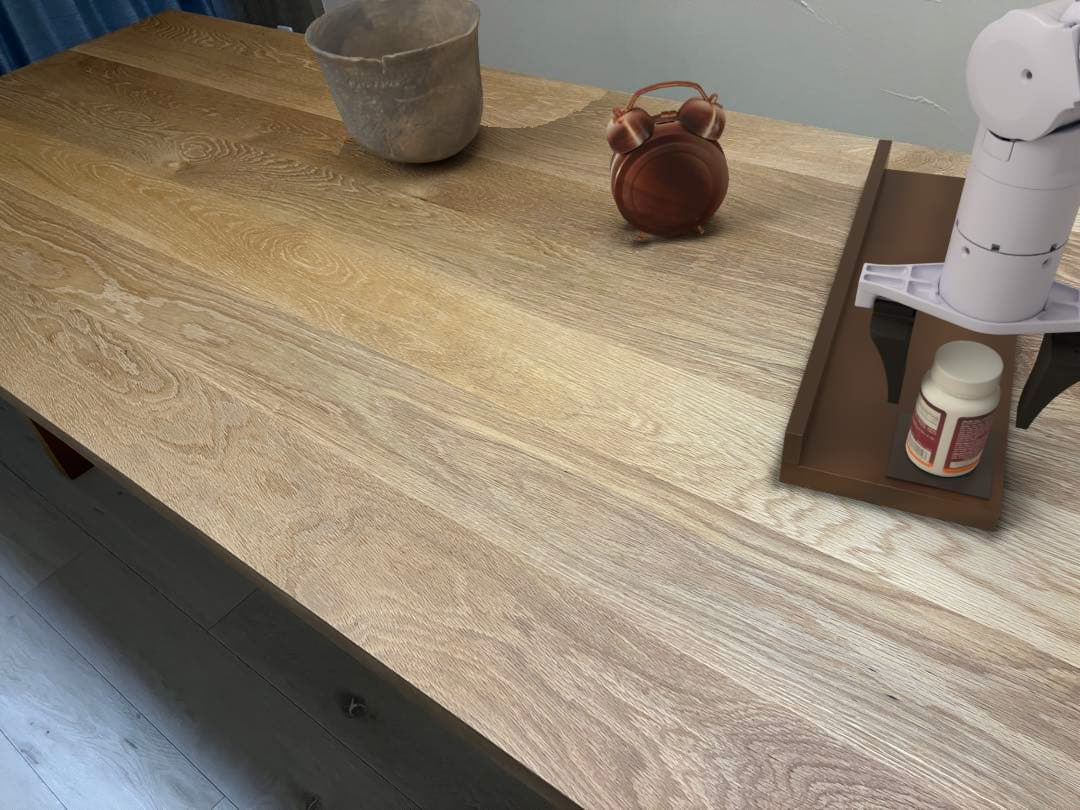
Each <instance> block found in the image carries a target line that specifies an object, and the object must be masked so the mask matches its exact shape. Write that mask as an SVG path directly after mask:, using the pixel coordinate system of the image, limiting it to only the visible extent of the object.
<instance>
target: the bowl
mask: <svg viewBox="0 0 1080 810" xmlns="http://www.w3.org/2000/svg"><path fill="white" fill-rule="evenodd" d="M480 18H481V9H480V7H479V6H478V4H477V3H476V2H475V1H473V0H352V1H348V2H345V3H342V4H340V5H338V6H336V7H334V8H332V9H329V10H328V11H327V12H325V13H323V14H322V15H321V16H319V17H317V18H315V19H314V20H313V21H312V22H311V23H310V25H309V26H308V27H307V29H306V31H305V32H304V41H305V43H306V45H307V46H308V48H309V49H310V51H311V52H312V53H313V56H314V57H315V58H316V61H317V63H318V64H319V67H320V69H321V72H322V74H323V76H324V79H325V81H326V83H327V86H328V88H329V90H330V94H331V96H332V99H333V102H334V104H335V106H336V109H337V111H338V113H339V115H340V118H341V119H342V121H343V124H344V126H345V129H346V130H347V133H348V134H349V136H350V137H351V138H352V140H353V141H354V142H355V143H356V144H358V145H359V146H360V147H361V148H363V149H364V150H365V151H367V152H368V153H371V154H372V155H374V156H377V157H380V158H383V159H385V160H389V161H391V162H394V163H395V162H396V163H409V164H410V163H411V164H425V163H426V164H427V163H432V162H437V161H441V160H445V159H447V158H451V157H453V156H455V155H457V154H458V153H459V152H461V151H462V150H463V149H465V148H466V147H467V146H468V145H469V144H470V142H471V141H473V139H474V138H475V136H477V134H478V132H479V129H480V127H481V122H482V117H483V116H482V115H483V111H484V89H483V80H482V79H483V77H482V74H481V62H480V48H479V25H480V20H481V19H480Z"/></svg>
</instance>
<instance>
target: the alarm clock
mask: <svg viewBox="0 0 1080 810" xmlns="http://www.w3.org/2000/svg"><path fill="white" fill-rule="evenodd" d="M674 87H683V88H684V87H686V88H693V89H694V90H696V91H698V93H700V95H701V96H699V95H698V96H693V97H690V98H688V99H687V100H686V101H685V102H683V104H682V105H681V106H680V107H679V108H678V110H676V109H671V110H663V111H661V113H658V114H654V115H650V114H649V112H647V111H646V110H645V109H643V108H642V107H640V106H636V105H635V102H636V101H637V99H638V98H639V97H640V96H641V95H644V94H646V93H649V92H652V91H657V90H660V89H664V88H665V89H666V88H674ZM718 99H719V95H718V93H716V92H713V93H712V94H710V96H708V95H707V94H706V92H705V91H704V89H703V87H702V86H701V85H700V84H698V83H697V82H693V81H690V80H689V81H688V80H687V81H686V80H669V81H661V82H658V83H654V84H651V85H648V86H645V87H643V88H639V89H638V90H636V91H635V92H634V93H633V94H632V97H631V99H630V100H629V103H628V104H627V106H626V107H624V108H621V109H620V108H618V107H614V108H613V110H612V114H613V116H611V118H609V121H608V123H607V125H606V128H605V137H606V141H607V143H608V145H609V147H610V149H611V150H612V154H611V157H610V162H609V184H610V190H611V194H612V197H613V201H614V203H615V204H616V207H617V209H618V212H619V213H620V215H621V217H622V218H623V219H624V220H625V221H626V222H627V223H628V224H629V226H630V227H631V228H634V229H636V230H637V231H639V235H638V236H636V240H637V241H639V242H640V241H642V240H643V236H644V235H645V234H647V235H650V236H656V237H670V236H677V235H682V234H685V233H688V232H691V231H692V230H695V229H697V230H698V232H699V234H701V235H702V234H704V233H705V229H704V228H703V227H702V225H704V224H705V223H706V222H707V221H708V220H709V219H711V218H712V217H713V216H714V215H715V214H716V213H717V212H718V210H719V209H720V208H721V206H722V205H723V203H724V201H725V199H726V195H727V194H728V189H729V185H730V184H729V183H730V173H729V167H728V163H727V158H726V155H725V152H724V150H723V147H722V145H721V144H720V142H719V140H720V138H721V137H722V135H723V133H724V130H725V127H726V124H727V116H726V113H725V111H724V106H723V105H722V104H721V103H718V102H717V101H718ZM634 105H635V106H634Z"/></svg>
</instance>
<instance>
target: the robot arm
mask: <svg viewBox="0 0 1080 810" xmlns="http://www.w3.org/2000/svg"><path fill="white" fill-rule="evenodd" d="M965 86H966V91H967V96H968V100H969V102H970V106H971V108H972V110H973V112H974V114H975V116H976V117H977V118H978V120H979V123H978V127H977V131H976V134H975V139H974V144H973V147H972V151H971V156H970V159H969V164H968V168H967V172H966V175H965V178H966V179H965V183H964V187H963V191H962V195H961V199H960V203H959V207H958V211H957V215H956V219H955V223H954V227H953V231H952V235H951V239H950V243H949V247H948V251H947V255H946V259H945V262H944V263H927V264H906V265H879V264H870V263H864V266H863V269H862V273H861V276H860V280H859V284H858V290H857V296H856V301H855V306H859V307H865V308H872V307H874V308H873V313H872V317H871V321H870V327H869V328H870V335H871V339H872V341H873V342H874V344H875V346H876V348H877V350H878V352H879V354H880V356H881V359H882V362H883V365H884V369H885V373H886V378H887V385H888V399H887V401H888V402H889V403H893V404H898V403H899V399H900V395H901V390H902V385H903V381H904V376H905V371H906V364H907V356H908V348H909V344H910V340H911V335H912V330H913V326H914V322H915V317H916V312H917V310H920V311H922V312H925V313H927V314H930V315H932V316H935V317H938V318H940V319H943V320H945V321H948V322H951V323H953V324H956V325H958V326H961V327H964V328H966V329H969V330H972V331H976V332H980V333H986V334H995V335H1008V334H1018V335H1029V334H1030V335H1031V334H1034V335H1035V334H1043V336H1042V340H1041V343H1040V346H1039V349H1038V353H1037V355H1036V359H1035V361H1034V364H1033V367H1032V368H1031V370H1030V373H1029V375H1028V377H1027V379H1026V381H1025V384H1024V386H1023V388H1022V391H1021V392H1020V396H1019V399H1018V402H1017V406H1016V415H1015V429H1019V430H1028V429H1029V428H1030V426H1031V425H1032V423H1033V422H1034V421H1035V419H1037V418H1038V416H1039V415H1040V413H1041V412H1042V411H1043V410H1044V409H1045V408H1046V407H1047V406H1049V404H1051V402H1052V401H1054V399H1056V398H1057V397H1058V396H1059V395H1061V394H1062V393H1064V392H1065V391H1066V390H1068V389H1070V388H1071V387H1072V386H1075V385H1077V384H1078V383H1080V288H1079V287H1076V286H1073V285H1070V284H1067V283H1065V282H1061V281H1058V280H1055V278H1056V276H1057V273H1058V270H1059V267H1060V264H1061V262H1062V259H1063V255H1064V253H1065V251H1066V247H1067V245H1068V241H1069V239H1070V235H1071V233H1072V230H1073V227H1074V224H1075V222H1076V218H1077V216H1078V213H1079V210H1080V0H1053V1H1048V2H1046V3H1041V4H1039V5H1036V6H1032V7H1029V8H1017V9H1012V10H1009V11H1008V12H1006V13H1005V14H1004V15H1003V16H1002V17H1001V18H999V19H997V20H995V21H993V22H991V23H990V24H988V25H987V26H986V27H984V28H983V30H981V32H980V33H979V34H978V36H977V37H976V39H975V40H974V42H973V44H972V46H971V48H970V52H969V54H968V57H967V61H966V68H965Z"/></svg>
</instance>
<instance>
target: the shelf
mask: <svg viewBox="0 0 1080 810" xmlns="http://www.w3.org/2000/svg"><path fill="white" fill-rule="evenodd" d="M892 144H893V140H892V139H891V140H890V139H881V138H879V139H878V141H877V145H876V148H875V151H874V155H873V157H872V160H871V165H870V167H869V170H868V173H867V176H866V180H865V183H864V185H863V188H862V192H861V194H860V198H859V200H858V204H857V208H856V210H855V213H854V217H853V220H852V223H851V225H850V229H849V232H848V236H847V239H846V241H845V245H844V248H843V251H842V254H841V258H840V260H839V264H838V267H837V270H836V273H835V275H834V279H833V282H832V285H831V288H830V291H829V294H828V297H827V301H826V303H825V306H824V310H823V313H822V316H821V318H820V319H821V320H820V323H819V325H818V329H817V331H816V334H815V338H814V341H813V344H812V347H811V350H810V354H809V357H808V359H807V362H806V366H805V369H804V372H803V375H802V378H801V381H800V384H799V388H798V391H797V394H796V397H795V399H794V403H793V407H792V409H791V412H790V416H789V419H788V422H787V425H786V428H785V431H784V438H783V444H782V452H781V459H780V467H779V476H778V481H779V482H781V483H786V484H790V485H794V486H799V487H802V488H807V489H811V490H815V491H820V492H823V493H828V494H833V495H837V496H841V497H845V498H848V499H853V500H858V501H862V502H866V503H870V504H875V505H877V506H878V505H879V506H882V507H883V506H884V507H886V508H891V509H895V510H899V511H904V512H908V513H913V514H916V515H922V516H925V517H928V518H934V519H937V520H941V521H946V522H950V523H955V524H959V525H964V526H967V527H972V528H976V529H980V530H985V531H988V532H994V530H995V528H996V525H997V524H998V520H999V518H1000V515H1001V512H1002V502H1003V492H1004V481H1005V471H1006V470H1005V469H1006V461H1007V449H1008V440H1009V439H1008V438H1009V429H1010V417H1011V408H1012V407H1011V406H1012V396H1013V385H1014V377H1015V366H1016V365H1015V364H1016V354H1017V343H1018V335H1019V334H1008V335H995V334H986V333H980V332H976V331H972V330H969V329H966V328H964V327H961V326H958V325H956V324H953V323H951V322H948V321H945V320H943V319H940V318H938V317H935V316H932V315H930V314H927V313H925V312H922V311H920V310H917V312H916V317H915V322H914V326H913V330H912V335H911V340H910V344H909V348H908V356H907V364H906V371H905V376H904V381H903V385H902V390H901V395H900V399H899V403H898V404H893V403H889V402H888V401H887V399H888V385H887V378H886V373H885V369H884V365H883V362H882V359H881V356H880V354H879V352H878V350H877V348H876V346H875V344H874V342H873V341H872V339H871V335H870V328H869V327H870V321H871V317H872V313H873V308H874V307H872V308H865V307H859V306H855V301H856V296H857V290H858V284H859V280H860V276H861V273H862V269H863V266H864V263H870V264H879V265H906V264H927V263H944V262H945V259H946V255H947V251H948V247H949V243H950V239H951V235H952V231H953V227H954V223H955V219H956V215H957V211H958V207H959V203H960V199H961V195H962V191H963V187H964V183H965V179H966V177H961V176H954V175H953V176H952V175H944V174H936V173H926V172H920V171H919V172H918V171H910V170H909V171H908V170H900V169H891V168H888V166H889V161H890V156H891V151H892V146H893V145H892ZM953 341H972V342H977V343H980V344H983V345H986V346H988V347H990V348H991V349H993V350H994V351H995V352H997V353H998V354H999V356H1000V357H1001V359H1002V361H1003V364H1004V369H1003V373H1002V376H1001V380H1000V383H999V387H1000V391H1001V396H1000V401H999V404H998V407H997V409H996V413H995V415H994V418H993V421H992V424H991V427H990V430H989V433H988V436H987V439H986V442H985V445H984V448H983V451H982V453H981V456H980V459H979V462H978V464H977V465H976V467H975V468H974V469H972V470H971V471H970V472H968V473H966V474H963V475H960V476H954V477H943V476H939V475H935V474H932V473H929V472H927V471H925V470H923V469H921V468H919V467H918V466H917V465H916V464H915V463H913V462H912V460H911V459H910V458H909V456H908V454H907V451H906V441H907V437H908V432H909V428H910V425H911V420H912V416H913V412H914V408H915V405H916V401H917V397H918V393H919V389H920V384H921V381H922V378H923V377H924V375H925V374H926V373H927V372H928V371H929V370H930V369H931V366H932V363H933V359H934V355H935V353H936V351H937V350H938V349H939V348H940V347H941V346H943V345H944V344H946V343H949V342H953Z"/></svg>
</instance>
